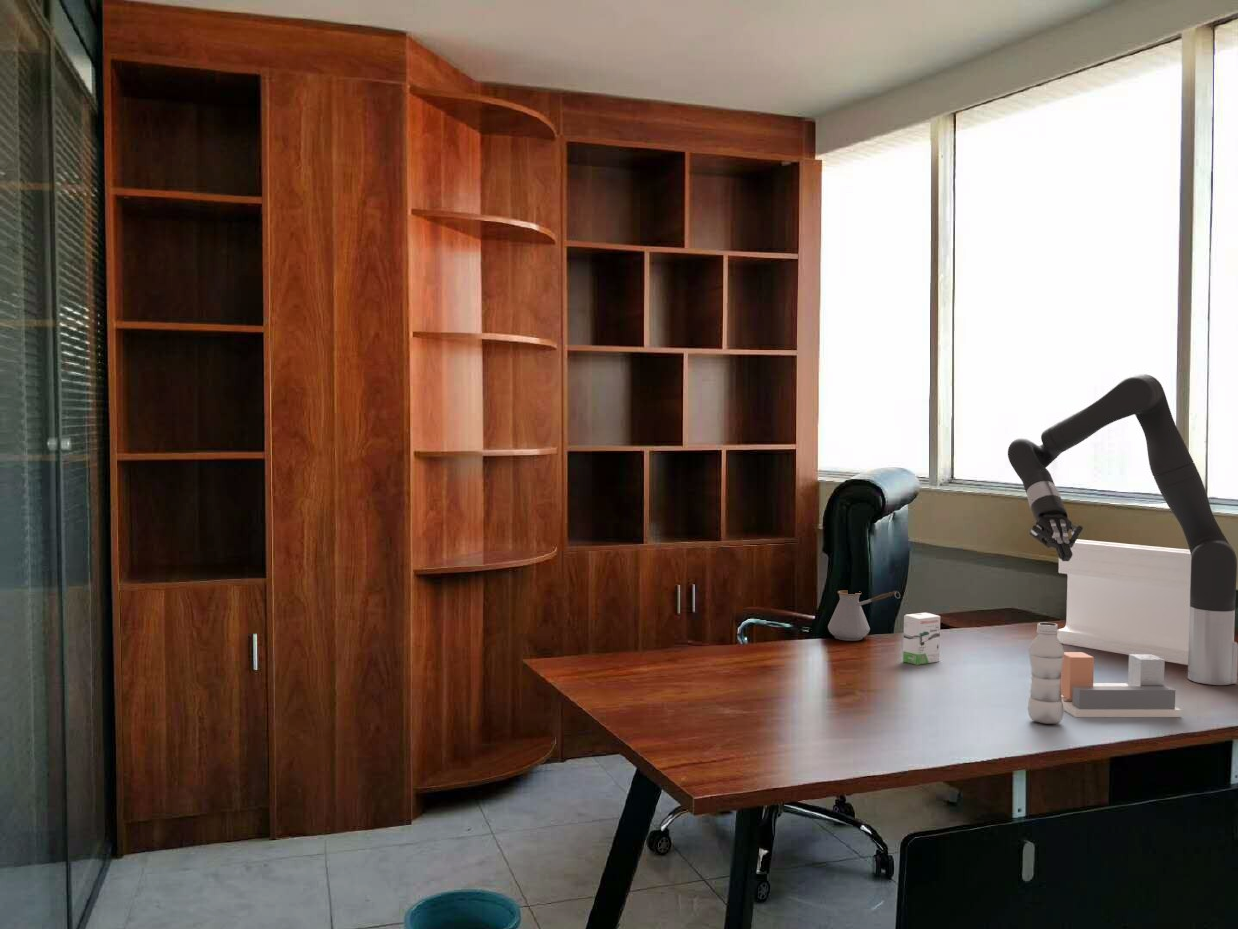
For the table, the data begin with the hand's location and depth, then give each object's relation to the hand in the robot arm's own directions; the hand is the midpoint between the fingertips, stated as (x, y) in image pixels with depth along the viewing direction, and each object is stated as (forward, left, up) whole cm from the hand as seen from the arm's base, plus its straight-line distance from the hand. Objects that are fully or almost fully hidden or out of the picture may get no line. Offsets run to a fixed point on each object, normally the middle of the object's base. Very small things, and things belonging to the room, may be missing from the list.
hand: (1067, 559), depth 253 cm
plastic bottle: (+22, +40, -28) cm, 53 cm away
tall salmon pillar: (+10, +27, -26) cm, 39 cm away
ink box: (+30, -14, -28) cm, 43 cm away
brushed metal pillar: (-4, +29, -26) cm, 39 cm away
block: (-29, -26, -28) cm, 48 cm away
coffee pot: (+38, -39, -28) cm, 61 cm away
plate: (+3, +25, -28) cm, 37 cm away
